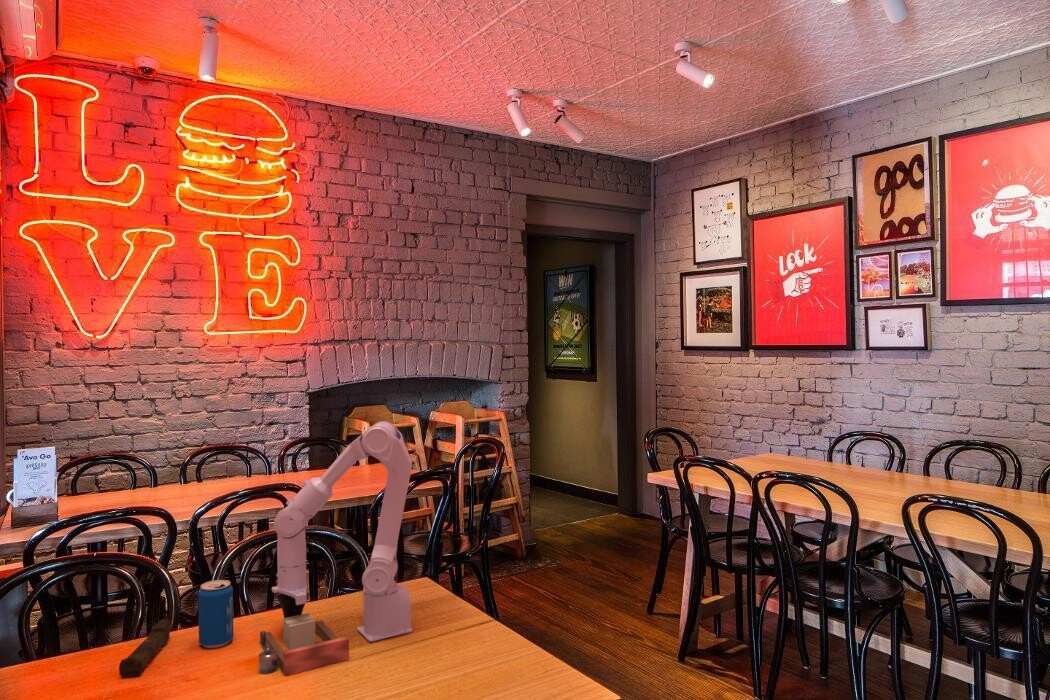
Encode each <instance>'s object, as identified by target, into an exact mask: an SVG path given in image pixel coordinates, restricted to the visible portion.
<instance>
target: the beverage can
mask: <svg viewBox="0 0 1050 700" xmlns="http://www.w3.org/2000/svg"><path fill="white" fill-rule="evenodd" d="M197 596H198V597H197V598H198V602H197V603H198V604H197V605H198V606H197V607H198V644H199V645H201V646H203V648H207V649H215V648H216V649H218V648H220V647H224V646H226V645H227V644H229V643H230V641H232V640H233V638H234V587H233V586H232V585H231V581H230V580H228V579H227V580H226V579H216V580H209V581H206V582H204V583H202V584H201V585H200V589H199V590H198V594H197Z"/></svg>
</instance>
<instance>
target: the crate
mask: <svg viewBox="0 0 1050 700" xmlns="http://www.w3.org/2000/svg"><path fill="white" fill-rule="evenodd" d="M315 622H316V621H315V618H314V617H312V616H311V615H310V613H302V615H297V616H292V617H288V618H282V625H283V626H282V628H283V629H282V633H283V634H282V636H283V644H284V645H285V646H286V648H287V649H288V650H292V649H296V648H300V647H304V646H308V645H313V644H316V631H315Z"/></svg>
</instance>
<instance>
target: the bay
mask: <svg viewBox="0 0 1050 700" xmlns="http://www.w3.org/2000/svg"><path fill="white" fill-rule="evenodd" d="M315 633H316V634H317V635H318V636H319V637H320V638H321V639H322V642H318V643H315V644H313V645H308V646H304V647H300V648H296V649H292V650H289V649H288V650H284V649H283V648H282V646H281V645H280V643H279V642H278V640H277V639H276V637H275V636H274V635H273V634H272V632H271V631H267V632H266V642H267V643H268V645H269V646H270V648H271V650H275V651H277V667H279V670H280V671H281V672H282V673H283V675H284V676H285V677H286V676H290V675H291V676H292V675H295V674H299V673H302V672H306V671H311V670H314V669H318V668H322V667H326V666H329V665H333V664H338V663H341V662H345V661H349V660H350V639H349V637H348V636H347V635H346V636H343V637H338V636H337V635H336V634H335V632H333V630H332V629H331V628H330V627H329V626H328V625H327V624H326V622H324V620H322V619H321V620H316V621H315Z"/></svg>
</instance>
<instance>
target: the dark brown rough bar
mask: <svg viewBox="0 0 1050 700" xmlns="http://www.w3.org/2000/svg"><path fill="white" fill-rule="evenodd" d="M170 624H171V623H170V620H169V618H163V619H161V620H159V621H158V622H157V623H156V624H154V625H153V626H152V628H151V629H150V630H151V631H150V634H149V635H148V636H147V637H146V638H145V639H144V640H143V641H142V642H141V643H140V644H139V645H138V646H137V647H136V649H134V650H133V651H132V652H131V653H130V654H129V655H128V656H127V657H126V658H123V659H121V661H120V662H119V665H118V666H119V667H118V671H119V672H118V674H119V675H120V676H121V678H122V679H128V678H129V679H131V678H137V677H140V676H141V675H142V673H143V671H144V669H145V667H146V666H147V664H148V663H149V662H150V661H151V660H152V659H153V658H154V656H156V654H157V653H158V651H160V649H162V648H165V647H166V646H167V644H168V643H169V640H170V634H171V631H170V630H171V625H170Z"/></svg>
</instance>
